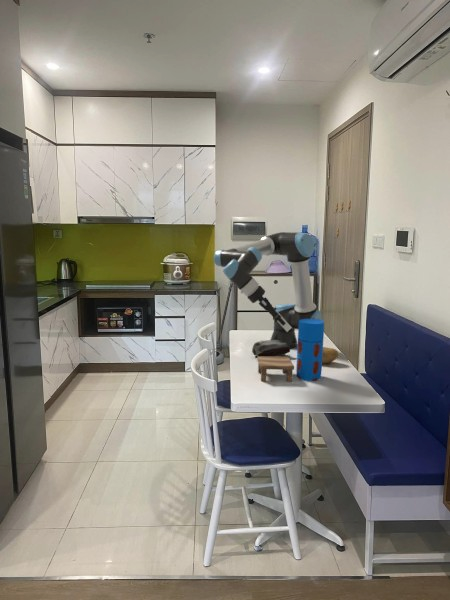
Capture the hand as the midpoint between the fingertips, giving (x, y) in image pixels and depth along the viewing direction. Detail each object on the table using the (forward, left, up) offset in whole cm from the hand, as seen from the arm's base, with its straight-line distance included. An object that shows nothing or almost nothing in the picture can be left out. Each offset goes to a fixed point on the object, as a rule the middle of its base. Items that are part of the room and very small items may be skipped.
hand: (286, 326), depth 187 cm
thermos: (0, +11, -23) cm, 25 cm away
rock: (-30, -2, -23) cm, 38 cm away
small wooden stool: (0, -4, -23) cm, 23 cm away
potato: (-21, +23, -23) cm, 38 cm away
